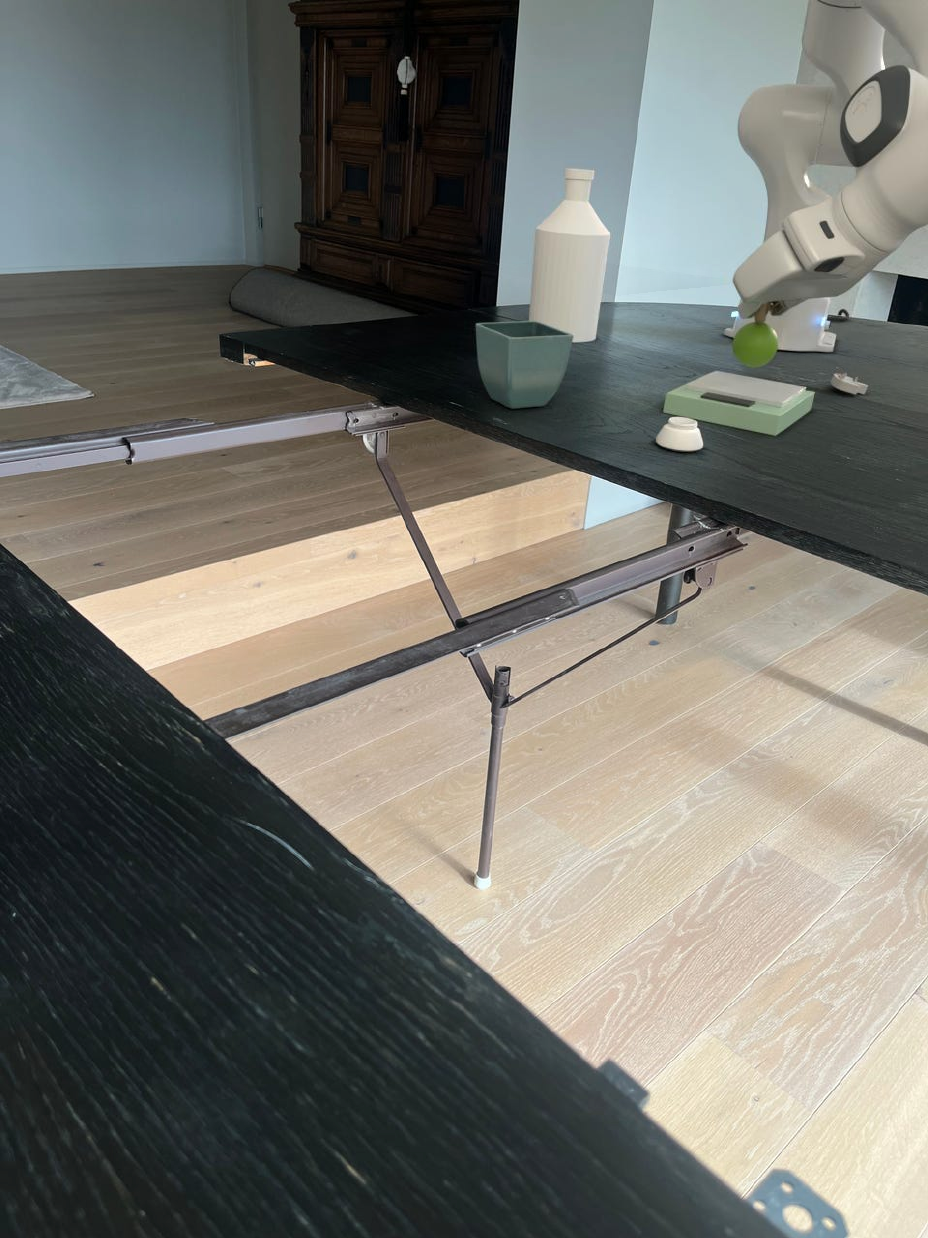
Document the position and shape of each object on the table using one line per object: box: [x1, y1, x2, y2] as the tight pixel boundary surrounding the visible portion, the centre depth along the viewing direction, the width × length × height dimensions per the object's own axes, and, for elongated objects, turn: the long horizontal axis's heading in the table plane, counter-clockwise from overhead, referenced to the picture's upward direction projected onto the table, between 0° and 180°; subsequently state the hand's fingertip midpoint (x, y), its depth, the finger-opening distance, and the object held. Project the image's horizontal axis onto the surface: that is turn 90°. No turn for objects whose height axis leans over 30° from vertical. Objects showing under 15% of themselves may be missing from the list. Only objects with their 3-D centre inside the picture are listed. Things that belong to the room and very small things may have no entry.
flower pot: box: [475, 320, 574, 410], centre depth 115 cm, size 9×9×9 cm
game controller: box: [781, 372, 869, 395], centre depth 134 cm, size 6×12×3 cm, turn 100°
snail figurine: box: [732, 302, 779, 368], centre depth 117 cm, size 5×6×12 cm
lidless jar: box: [655, 416, 704, 453], centre depth 104 cm, size 5×3×5 cm
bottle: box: [528, 167, 611, 343], centre depth 153 cm, size 12×12×25 cm
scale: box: [662, 370, 816, 437], centre depth 120 cm, size 16×14×3 cm
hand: (757, 312), depth 117 cm, fingers closed on snail figurine, 5 cm apart
